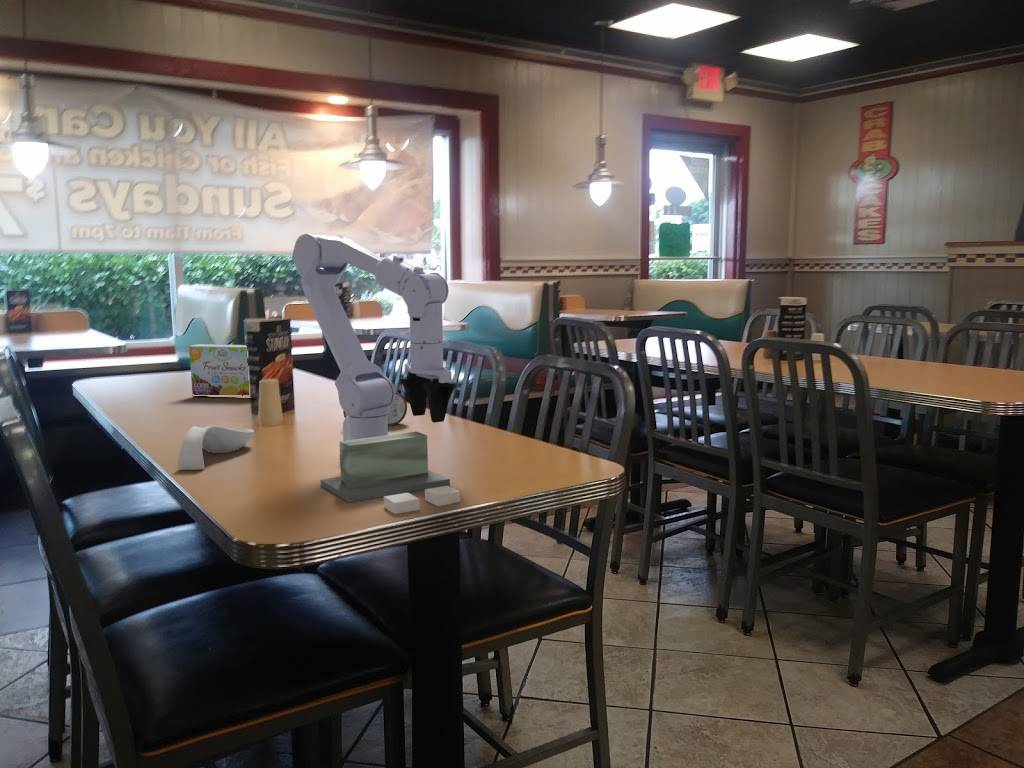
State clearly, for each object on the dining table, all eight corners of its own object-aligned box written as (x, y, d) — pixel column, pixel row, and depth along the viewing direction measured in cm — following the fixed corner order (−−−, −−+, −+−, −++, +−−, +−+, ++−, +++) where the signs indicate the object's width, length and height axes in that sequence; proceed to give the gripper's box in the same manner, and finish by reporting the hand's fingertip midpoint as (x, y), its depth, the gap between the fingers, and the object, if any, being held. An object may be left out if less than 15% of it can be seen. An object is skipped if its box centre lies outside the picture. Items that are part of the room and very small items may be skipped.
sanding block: (340, 483, 131) (339, 441, 130) (417, 470, 139) (416, 431, 138) (350, 488, 128) (348, 445, 127) (428, 475, 136) (427, 435, 135)
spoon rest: (205, 444, 168) (203, 410, 167) (261, 443, 168) (260, 410, 167) (159, 472, 144) (156, 433, 143) (224, 471, 144) (222, 432, 143)
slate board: (320, 485, 134) (320, 479, 133) (417, 470, 143) (417, 464, 143) (348, 502, 124) (348, 496, 123) (450, 484, 134) (449, 478, 133)
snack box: (191, 397, 229) (187, 345, 227) (201, 394, 234) (198, 343, 232) (260, 399, 225) (257, 346, 223) (269, 396, 231) (266, 344, 229)
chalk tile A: (384, 509, 121) (383, 496, 121) (408, 505, 123) (407, 492, 123) (394, 516, 118) (394, 502, 117) (419, 511, 120) (419, 498, 120)
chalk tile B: (425, 501, 125) (424, 489, 125) (447, 497, 127) (447, 485, 127) (437, 508, 122) (437, 495, 121) (460, 503, 124) (460, 491, 124)
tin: (403, 422, 189) (402, 387, 188) (409, 424, 187) (408, 388, 186) (343, 429, 181) (341, 392, 180) (348, 431, 179) (346, 394, 178)
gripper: (466, 344, 136) (467, 422, 138) (428, 338, 149) (430, 410, 151) (429, 346, 133) (431, 426, 135) (393, 340, 145) (395, 414, 147)
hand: (428, 418), depth 142 cm, fingers open, 7 cm apart
